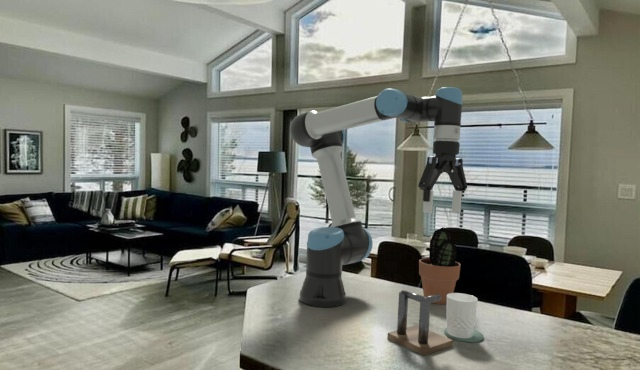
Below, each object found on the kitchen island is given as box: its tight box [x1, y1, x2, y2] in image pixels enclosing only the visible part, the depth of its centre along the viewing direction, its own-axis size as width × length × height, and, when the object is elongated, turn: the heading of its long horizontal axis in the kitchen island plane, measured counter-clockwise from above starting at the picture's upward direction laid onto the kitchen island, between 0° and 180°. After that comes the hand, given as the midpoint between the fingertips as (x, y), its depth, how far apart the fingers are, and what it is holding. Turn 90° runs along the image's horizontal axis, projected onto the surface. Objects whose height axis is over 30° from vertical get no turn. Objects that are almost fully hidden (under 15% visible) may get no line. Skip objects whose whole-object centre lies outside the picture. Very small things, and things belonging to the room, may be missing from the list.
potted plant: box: [418, 227, 462, 305], centre depth 149 cm, size 14×14×25 cm
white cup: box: [445, 292, 479, 339], centre depth 117 cm, size 8×8×10 cm
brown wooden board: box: [387, 324, 454, 356], centre depth 112 cm, size 12×11×2 cm
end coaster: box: [443, 327, 484, 344], centre depth 118 cm, size 10×10×1 cm
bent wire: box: [396, 289, 441, 345], centre depth 112 cm, size 9×7×11 cm
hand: (442, 212), depth 130 cm, fingers open, 13 cm apart
